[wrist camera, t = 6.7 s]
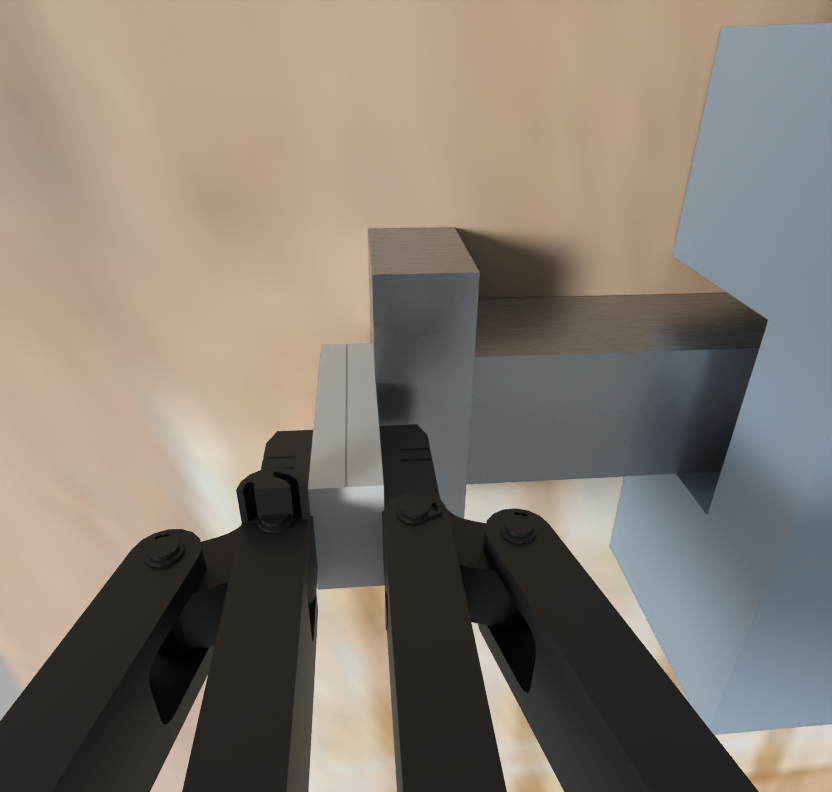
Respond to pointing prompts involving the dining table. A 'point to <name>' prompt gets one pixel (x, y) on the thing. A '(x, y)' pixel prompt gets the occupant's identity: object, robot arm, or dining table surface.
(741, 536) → the hitch block
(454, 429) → the gray block
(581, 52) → the dining table surface
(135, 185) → the dining table surface
